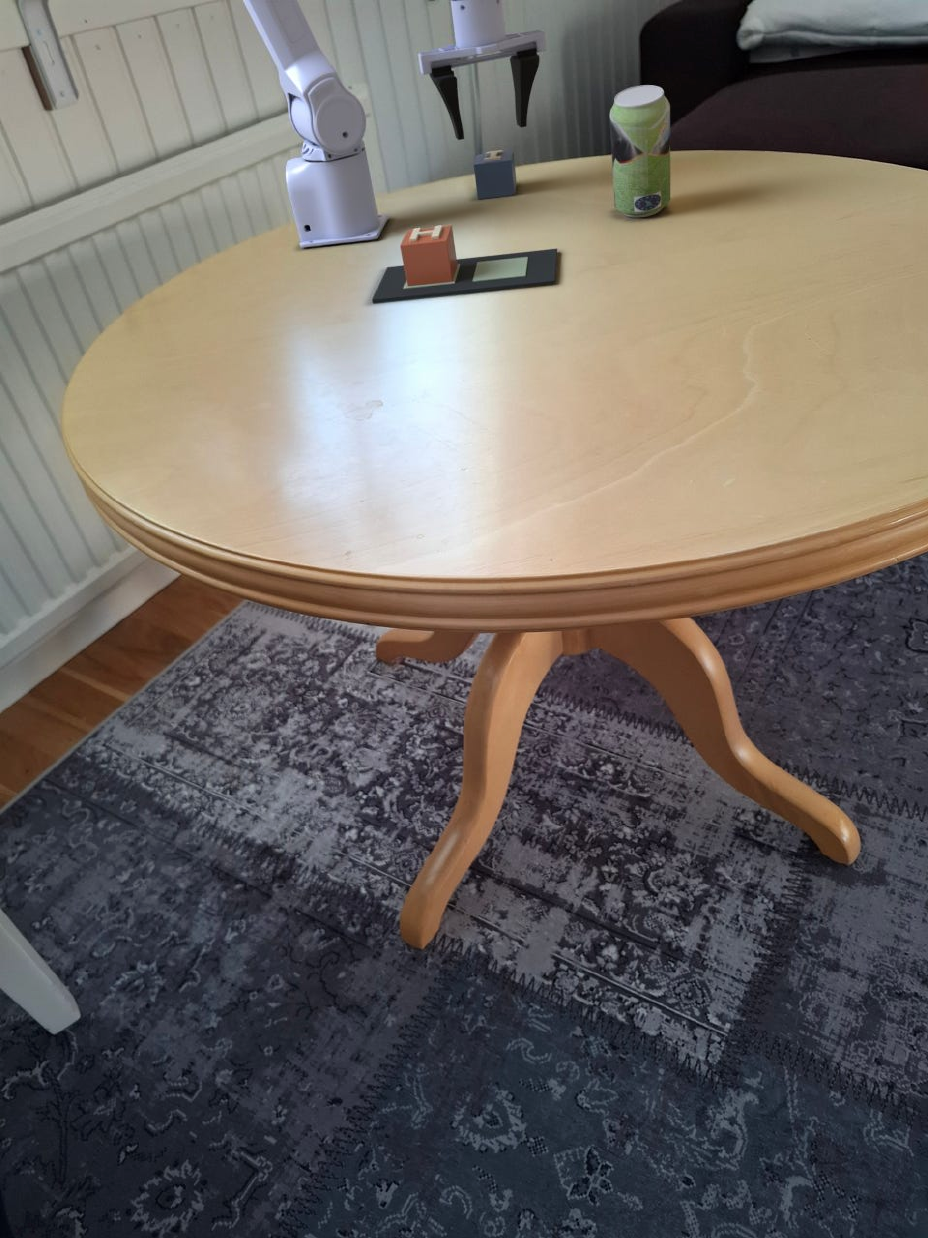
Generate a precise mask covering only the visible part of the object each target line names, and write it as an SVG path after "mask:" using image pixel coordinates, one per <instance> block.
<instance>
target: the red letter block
mask: <svg viewBox="0 0 928 1238" xmlns="http://www.w3.org/2000/svg"><path fill="white" fill-rule="evenodd" d="M456 250H457V249H456V245H455V238H454V230H453V225H452V224H450V225H449V224H448V225H441V224H440V225H435V226H431V227H424V228H421V227H415V228H413V229H408V230H406V233H405V234H404V236H403V239H402V241H401V243H400V252H401V258H402V264H403V265H404V269H405V275H406V280H407V286H416V285H426V284H435V283H445V282H453V279H454V275H455V272H456V269H457V265H458V264H457V259H458V257H457V251H456Z"/></svg>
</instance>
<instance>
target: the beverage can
mask: <svg viewBox="0 0 928 1238" xmlns="http://www.w3.org/2000/svg"><path fill="white" fill-rule="evenodd" d="M613 101H614V102H613V104H612V106H611V108H610V110H609V115H608V116H609V134H610V150H611V151H610V152H611V169H612V170H611V171H612V172H611V173H612V189H613V204H614V205H613V206H614V208H615V209H616V210H617V211H618V212H619V213H621V214H623V215H624V216H626V217H630V218H640V219H641V218H647V217H651V216H653V215H656V214H657V213H659V212H661V211H662V209H663V208H665V207H666V206H667V205H669V203H670V201H671V103H670V102H669V100H668V99H667V97H666V96H665V91H664V89H663V88H662V87H661V86H657V85H651V84H644V85H635V86H631V87H628V88H626V89H623V90H621V91H620V92H618V93H617V94H616V95H615V96H614V99H613Z"/></svg>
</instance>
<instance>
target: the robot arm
mask: <svg viewBox="0 0 928 1238" xmlns="http://www.w3.org/2000/svg"><path fill="white" fill-rule="evenodd" d="M242 2H243V3H244V6H245V7H246V10H247V12H248V14H249V15H250V17H251V19H252V21H253V23H254V25H255V27H256V29H257V31H258V33H259V35H260V37H261V39H262V41H263V43H264V45H265V47H266V49H267V51H268V53H269V55H270V57H271V59H272V61H273V62H274V63H273V64H275V67H276V69H277V73H278V79H279V84H280V87H281V89H282V92H283V93H284V95H285V98H286V101H287V108H288V109H287V111H288V118H289V121H290V124H291V126H292V129H293V130H294V132H295V133H296V134H297V135H298V136H299V137H300V138H301V139H303V143H302V148H301V156H299V157H295V158H294V157H293V158H289V160H288V161H287V163H286V166H285V181H286V187H287V188H286V189H287V192H288V196H289V197H288V198H289V201H290V204H291V208H292V212H293V217H294V221H295V225H296V229H297V233H298V236H299V241H300V242H299V247H300V248H302V249H303V248H310V247H312V248H313V247H320V246H327V245H336V244H337V245H339V244H346V243H347V244H348V243H355V242H363V241H372V240H373V241H374V240H376V239H378V238H379V236H380V234H381V232H382V230H383V229H384V227H385V225H386V223H387V221H388V219H389V215H388V214H387V213H386V214H379V213H378V212H379V211H378V206H377V201H376V195H375V190H374V185H373V180H372V175H371V170H370V164H369V160H368V155H367V150H366V143H365V141H364V140H363V139H364V137H365V133H366V128H367V117H366V113H365V109H364V107H363V104H362V103H361V101H360V100H359V98H358V97H357V96H356V95H355V94H353V93H352V92H351V91H350V90H349V89H348V88H346V87H345V85H344V83H343V82H342V80H341V78H340V76H339V74H338V72H337V71H336V69H335V67H334V66H333V65H332V64H331V62H330V60H329V59H328V58H327V57H326V55H325V54H324V53H323V51H322V50H321V48H320V46H319V44H318V42H317V39H316V37H315V35H314V34H313V32H312V29H311V27H310V25H309V23H308V21H307V18H306V16H305V14H304V12H303V10H302V8H301V6H300V4H299V2H298V0H242ZM450 5H451V15H452V22H453V30H454V38H455V39H454V40H455V44H451V45H448V46H443V47H439V48H436V49H432V50H427V51H422V52H419V53H417V57H418V65H419V71H420V73H421V75H423V76H425V75H426V76H427V75H429V77H430V79H431V81H432V83H433V85H434V86H435V88H436V90H437V91H438V94H439V96H440V98H441V99H442V101H443V103H444V106H445V108H446V111H447V113H448V115H449V119H450V121H451V124H452V127H453V132H454V135H455V136H454V137H455V138H456V139H457V140H458V141H461V140H465V132H464V126H463V119H462V115H461V110H460V99H459V86H458V85H459V84H458V78H457V76H455V71H454V70H452V69H454V68H459V67H465V66H470V65H475V64H480V63H484V62H490V61H495V60H501V59H505V58H509V62H510V67H511V68H510V69H511V75H512V81H513V88H514V89H513V90H514V104H515V118H516V125H517V126H518V127H519V128H526V127H527V125H528V124H527V123H528V122H527V121H528V110H529V104H530V98H531V92H532V89H533V85H534V81H535V79H536V75H537V73H538V70H539V67H540V61H541V60H540V59H541V58H540V55H539V54H538V53H542V52H546V51H547V42H546V31H545V30H543V29H541V28H539V29H535V30H530V31H529V30H528V31H523V32H516V33H508V34H507V32H506V22H505V12H504V11H505V10H504V1H503V0H450ZM469 57H472V58H469Z"/></svg>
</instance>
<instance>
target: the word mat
mask: <svg viewBox="0 0 928 1238" xmlns="http://www.w3.org/2000/svg"><path fill="white" fill-rule="evenodd" d="M557 255H558V248H549V249H540V250H531V251H530V250H529V251H522V252H511V253H504V254H503V253H502V254H494V255H486V256H475V257H466V258H457V264H458V265H457V269H456V272H455V275H454V279H453V282H445V283H435V284H426V285H416V286H407V280H406V275H405V269H404V264H403V265H394V266H387V267H386V269H385V271H384V273H383V275H382V277H381V280H380V282H379V284H378V286H377V288H376V290H375V293H373V297H372V299H371V302H372V304H379V303H380V304H381V303H388V302H389V303H390V302H400V301H408V300H409V301H410V300H419V299H429V298H437V297H448V296H458V295H467V294H477V293H486V292H498V291H507V290H515V289H516V290H517V289H525V288H526V289H527V288H536V287H546V286H554V285H556V275H557V274H556V273H557V259H558V256H557Z"/></svg>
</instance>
